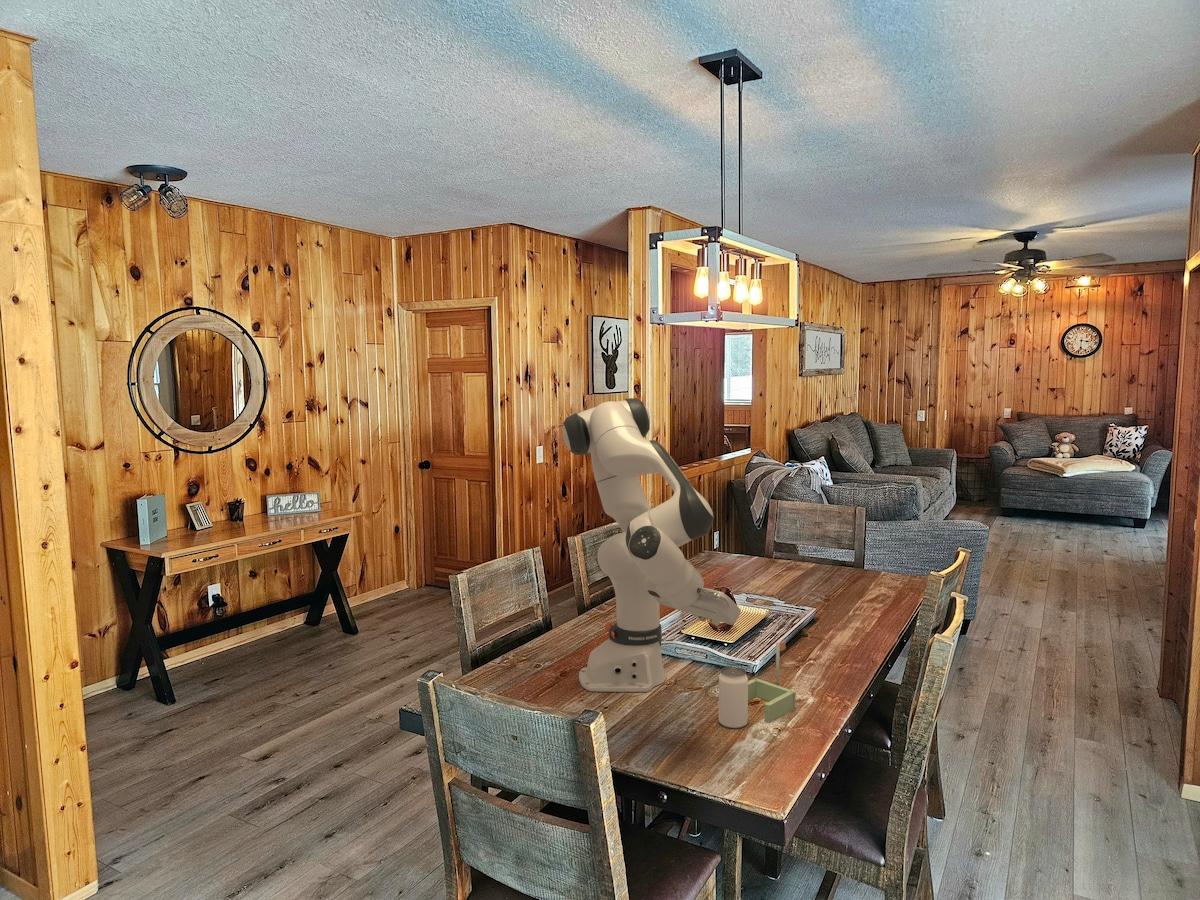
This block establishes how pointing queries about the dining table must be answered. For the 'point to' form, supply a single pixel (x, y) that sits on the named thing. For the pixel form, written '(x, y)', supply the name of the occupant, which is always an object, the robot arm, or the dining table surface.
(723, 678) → the can
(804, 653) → the dining table surface
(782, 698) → the olive frame
